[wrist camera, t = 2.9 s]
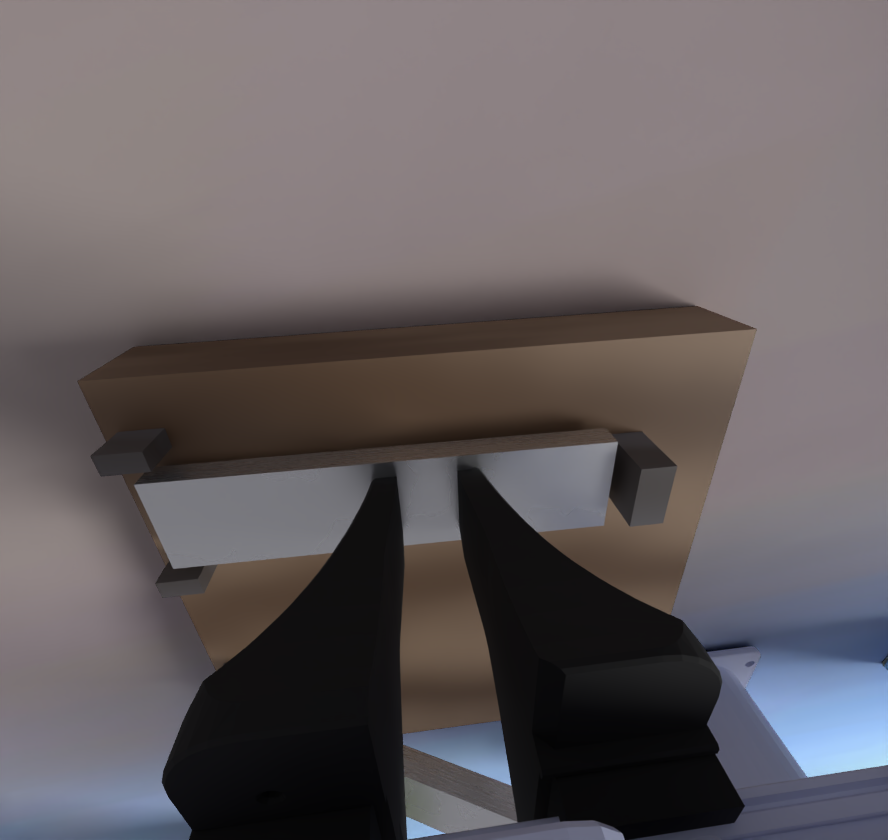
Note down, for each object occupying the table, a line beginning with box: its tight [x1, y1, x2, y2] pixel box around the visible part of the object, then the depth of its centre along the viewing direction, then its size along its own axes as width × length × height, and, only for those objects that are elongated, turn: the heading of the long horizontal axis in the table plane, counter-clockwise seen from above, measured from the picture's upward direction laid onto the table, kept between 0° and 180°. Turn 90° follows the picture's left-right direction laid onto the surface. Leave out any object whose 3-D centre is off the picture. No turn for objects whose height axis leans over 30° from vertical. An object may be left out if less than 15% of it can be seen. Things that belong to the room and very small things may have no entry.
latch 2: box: [403, 745, 518, 834], centre depth 15 cm, size 3×13×1 cm, turn 93°
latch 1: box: [134, 428, 618, 569], centre depth 13 cm, size 3×13×1 cm, turn 92°
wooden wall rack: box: [77, 306, 757, 734], centre depth 16 cm, size 18×18×5 cm
